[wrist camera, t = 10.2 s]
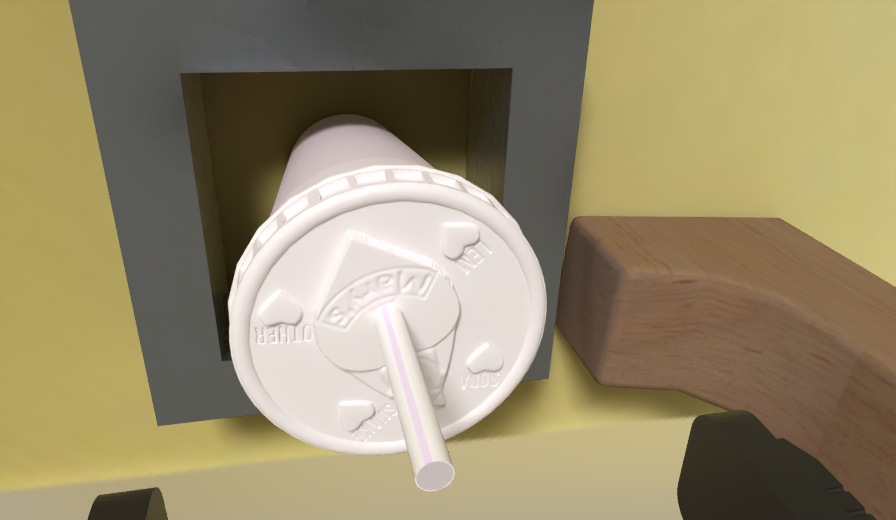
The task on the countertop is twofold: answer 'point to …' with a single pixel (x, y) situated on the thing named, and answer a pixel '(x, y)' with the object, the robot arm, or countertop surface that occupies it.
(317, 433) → the smoothie
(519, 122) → the frame
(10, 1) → the countertop surface
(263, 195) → the countertop surface
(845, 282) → the wooden block
